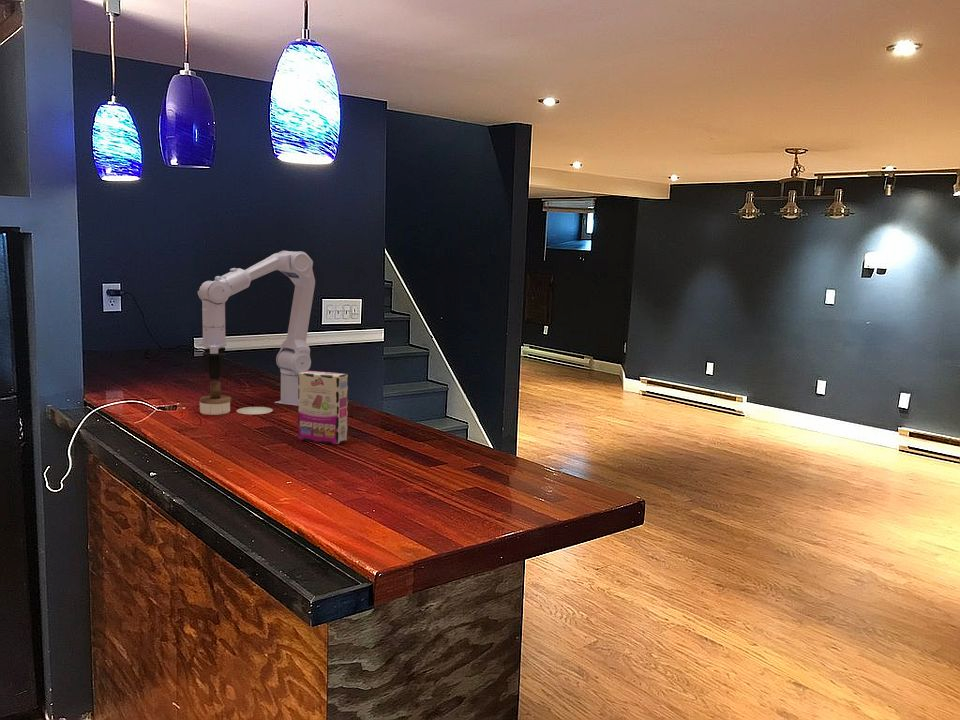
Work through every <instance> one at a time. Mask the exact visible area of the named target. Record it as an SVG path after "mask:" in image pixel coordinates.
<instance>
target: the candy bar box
mask: <svg viewBox="0 0 960 720" xmlns="http://www.w3.org/2000/svg"><path fill="white" fill-rule="evenodd" d="M348 397H349V374H348V373H339V372H329V371H327V372H326V371H316V370H315V371H314V370H308V371H304V372H301V373H298V406H297V407H298V409H297V410H298V413H297V417H298V418H297V420H298V421H297V423H298V424H297V431H298V433H297V435H298V436H297V437H298V438H297V439H298V440H299V441H308V442H316V443H322V444H331V445H340V444H342V443H345V442H347V441H348V424H349V423H348V419H349V418H348V415H349V414H348V413H349V412H348V411H349V410H348V409H349V407H348V405H349V404H348V403H349V399H348Z"/></svg>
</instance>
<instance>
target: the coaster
mask: <svg viewBox="0 0 960 720" xmlns="http://www.w3.org/2000/svg"><path fill="white" fill-rule="evenodd" d="M273 411H274V410H273V408H271V407H267V406H248V407H242V408H238V409H236V413H238V414H244V415H264V414H270V413H271V412H273Z"/></svg>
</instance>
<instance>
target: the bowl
mask: <svg viewBox="0 0 960 720" xmlns="http://www.w3.org/2000/svg"><path fill="white" fill-rule="evenodd" d="M199 412H200V414H202V415H210V416H215V415H218V416H219V415H225V414H229V413H230V412H231V401H230V402H228V403H223V404H204V403H201V402H200V401H199Z"/></svg>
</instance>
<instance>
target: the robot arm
mask: <svg viewBox="0 0 960 720" xmlns="http://www.w3.org/2000/svg"><path fill="white" fill-rule="evenodd" d="M313 265H314V261H313V259H312V258H311V257H310V256H309V255H308V254H307V253H306V252H305V251H292V250H291V251H289V250H281V251H279V252H275V253H273V254H271V255H270V256H268V257H266V258H265V259H263V260H261V261H258V262H257V263H255V264H253V265H251V266H249V267H247V268H246V269H242V268H240V267H239V268H236V267H233V268H232V267H231V268H230V269H229V272H227V273H225V274H223V275H221V276H220V275H216V276H215V277H214V280H206V281H204V282H203V283H201V285H200V287H199V290H197V295H198V297H199V298H198V299H200V300H201V302H202V304H201V306H202V308H201V312H202V314H201V316H202V318H201V319H202V342H200V341H199V342H197V343H198V345H197V346H199V347H204V348H203V352H202V357H204V358H203V359H204V360H205V363H206V365H207V370H208V376H209V379H210V380H219V379H220V376H221V368H222V363H223V361H224V359H225V357H226V353H225V352H226V346H227V342H226V302H227V301H228V299H229V297H231V296H233V295H235V294H237V293H239V292H241V291H244V290H245V289H248V288H249V287H250V285H251V282H252V281H254V280H256V279H258V278H261V277H263V276H265V275H267V274H269V273H272V272H275V271H279V272H280V273H282V274H283V275H285V276H286V277H288V278H289V279H290V281H291V283H293V285H294V292H293V297H292V304H291V309H290V310H291V311H290V315H289V324H288V328H287V335H286V339H285V340H284V341H283V342H282V343H281V344H280V345H281V346H280V350H279V351H278V353H277V354H276V358H275V361H276V365H277V366H278V368H279V369H280V370H279V372H280V400H278V401H274V403H275V404H282V405H291V406H297V407H298V373H301V372H304V371H310V368H311V365H312V360H311V348H310V346H309V345H308V343H307V337H308V332H309V331H308V330H309V324H310V318H311V311H312V305H313V299H314V292H315V287H316V278H315V275H314V270H313Z"/></svg>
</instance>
